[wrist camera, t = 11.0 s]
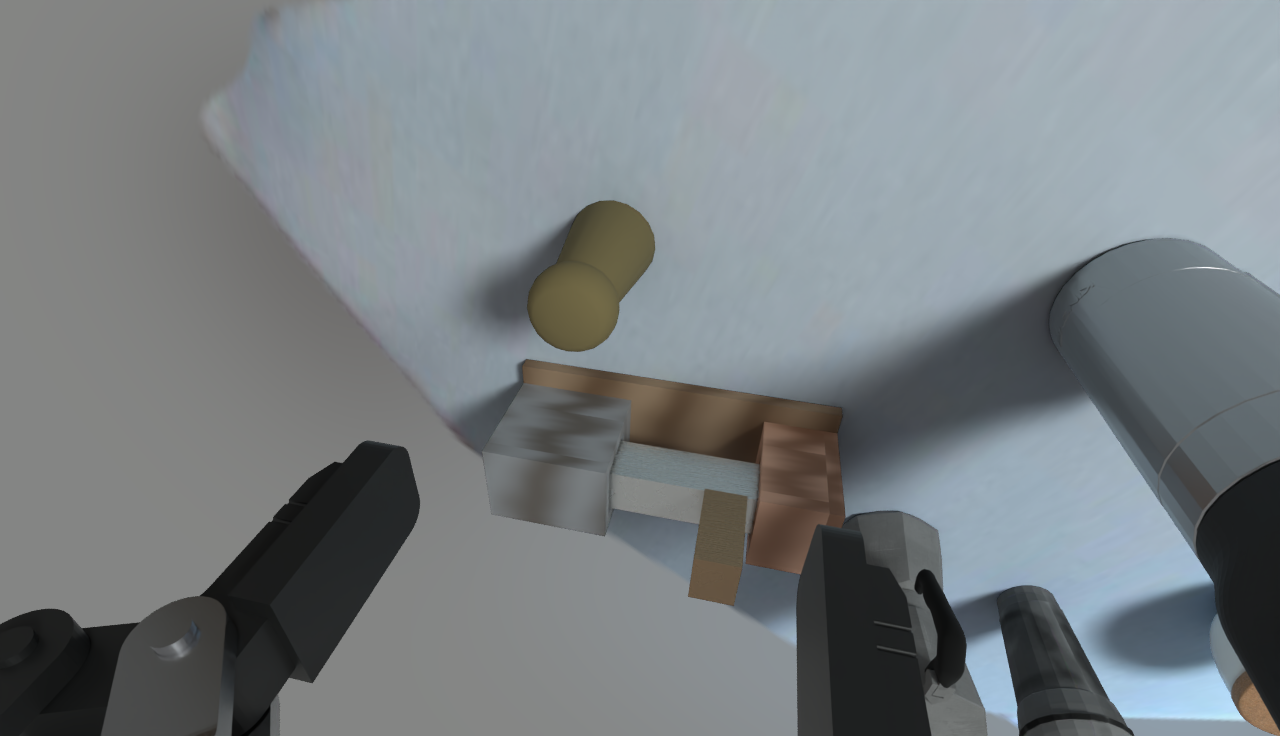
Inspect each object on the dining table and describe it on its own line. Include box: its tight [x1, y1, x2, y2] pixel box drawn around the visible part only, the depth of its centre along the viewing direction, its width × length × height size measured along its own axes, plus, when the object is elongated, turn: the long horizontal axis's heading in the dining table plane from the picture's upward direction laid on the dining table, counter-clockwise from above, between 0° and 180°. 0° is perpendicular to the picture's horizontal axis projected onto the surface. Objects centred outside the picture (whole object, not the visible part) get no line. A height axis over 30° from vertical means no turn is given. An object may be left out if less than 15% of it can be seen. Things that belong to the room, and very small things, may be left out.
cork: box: [527, 201, 655, 352], centre depth 37 cm, size 6×6×11 cm
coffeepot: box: [842, 511, 987, 736], centre depth 45 cm, size 15×9×18 cm, turn 177°
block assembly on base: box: [482, 359, 846, 574], centre depth 46 cm, size 25×10×9 cm, turn 88°
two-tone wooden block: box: [608, 441, 760, 606], centre depth 42 cm, size 17×4×10 cm, turn 88°
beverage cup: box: [997, 586, 1134, 736], centre depth 45 cm, size 7×7×20 cm
